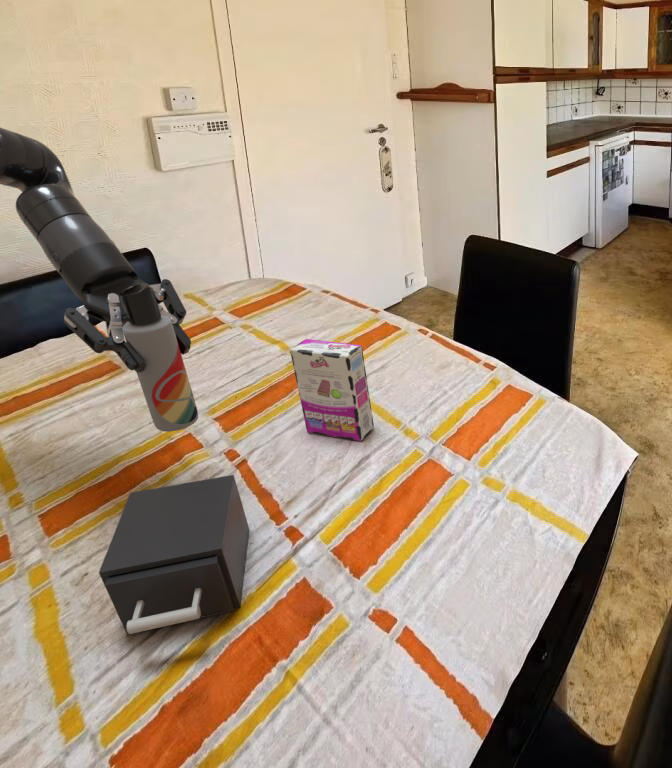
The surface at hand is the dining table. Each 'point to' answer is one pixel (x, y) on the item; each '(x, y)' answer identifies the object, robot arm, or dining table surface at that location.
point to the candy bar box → (333, 388)
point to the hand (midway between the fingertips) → (164, 359)
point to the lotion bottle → (158, 360)
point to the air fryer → (182, 530)
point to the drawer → (169, 594)
